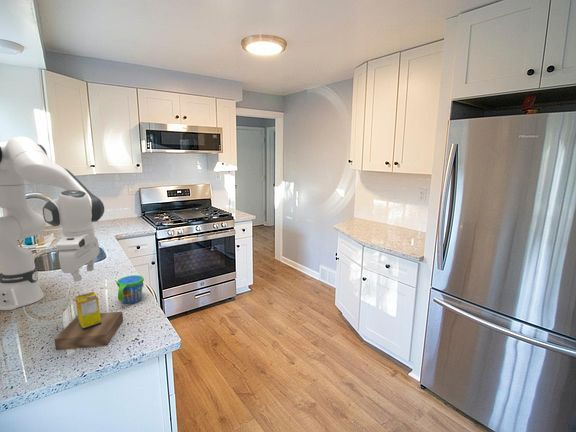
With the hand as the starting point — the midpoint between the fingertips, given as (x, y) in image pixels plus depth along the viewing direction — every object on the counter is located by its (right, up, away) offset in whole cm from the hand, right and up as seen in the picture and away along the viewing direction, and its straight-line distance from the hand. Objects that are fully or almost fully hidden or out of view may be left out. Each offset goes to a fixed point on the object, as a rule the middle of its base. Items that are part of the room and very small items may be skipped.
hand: (84, 275), depth 108 cm
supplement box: (0, -19, +4) cm, 19 cm away
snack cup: (+1, -18, +31) cm, 35 cm away
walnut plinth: (0, -23, +5) cm, 23 cm away
